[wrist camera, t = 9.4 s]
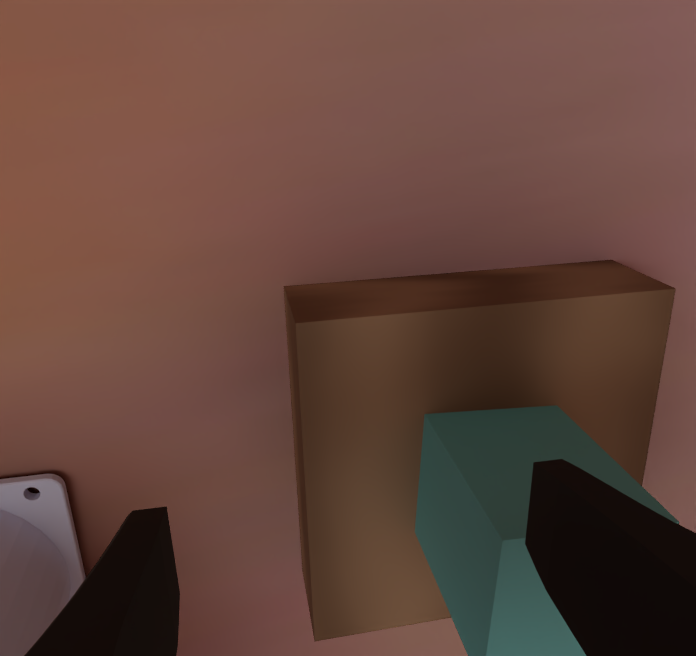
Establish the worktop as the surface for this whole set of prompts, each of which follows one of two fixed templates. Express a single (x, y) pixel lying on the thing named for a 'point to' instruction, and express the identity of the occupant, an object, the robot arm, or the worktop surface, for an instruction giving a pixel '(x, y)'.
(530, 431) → the teal block
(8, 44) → the worktop surface
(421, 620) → the walnut base
